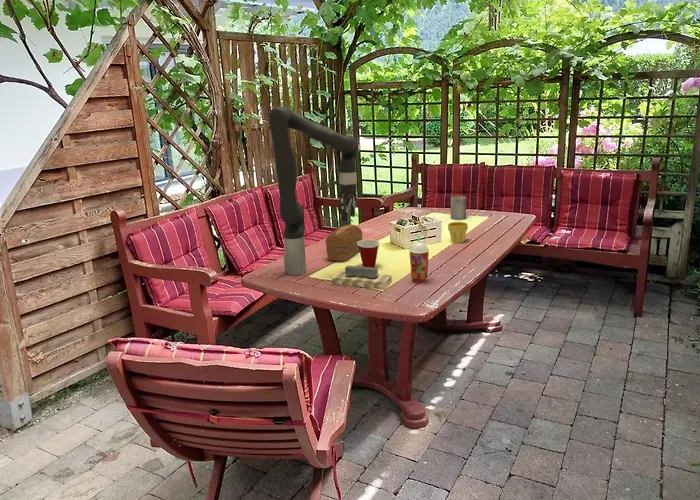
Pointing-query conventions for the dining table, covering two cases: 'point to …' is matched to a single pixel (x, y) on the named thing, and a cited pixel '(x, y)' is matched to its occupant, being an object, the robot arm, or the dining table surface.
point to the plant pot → (457, 231)
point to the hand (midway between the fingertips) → (348, 218)
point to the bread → (343, 242)
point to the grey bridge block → (361, 271)
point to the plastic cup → (368, 252)
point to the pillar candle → (458, 207)
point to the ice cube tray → (362, 280)
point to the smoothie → (419, 261)
